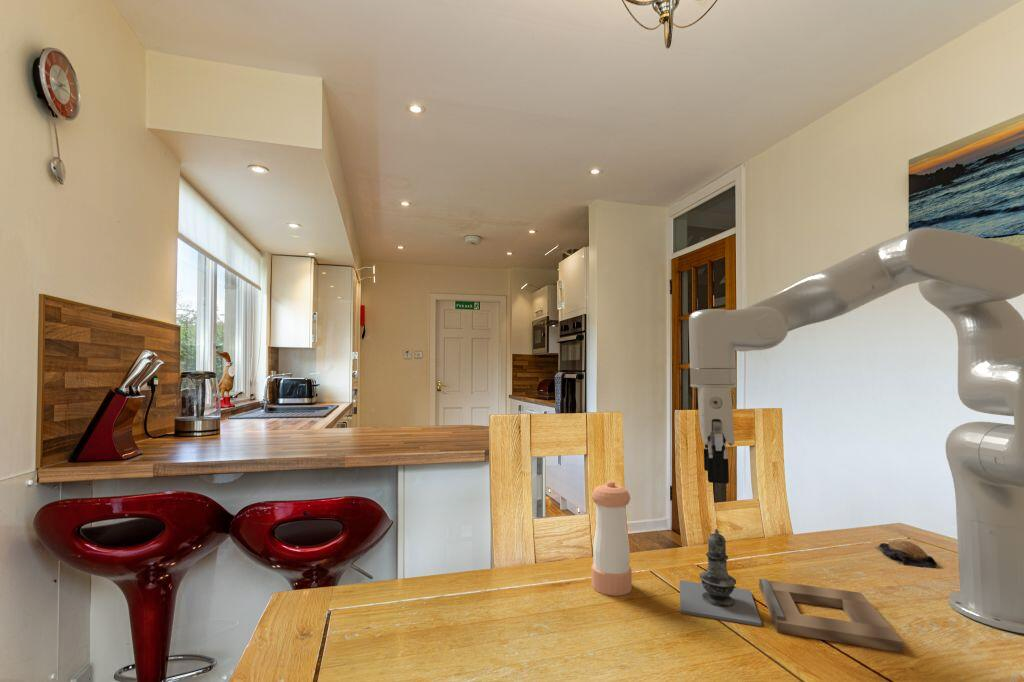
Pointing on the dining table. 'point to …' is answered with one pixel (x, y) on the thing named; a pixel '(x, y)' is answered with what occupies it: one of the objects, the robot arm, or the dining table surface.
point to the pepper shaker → (611, 541)
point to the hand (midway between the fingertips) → (715, 476)
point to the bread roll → (907, 554)
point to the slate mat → (697, 606)
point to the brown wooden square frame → (860, 631)
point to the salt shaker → (717, 574)
